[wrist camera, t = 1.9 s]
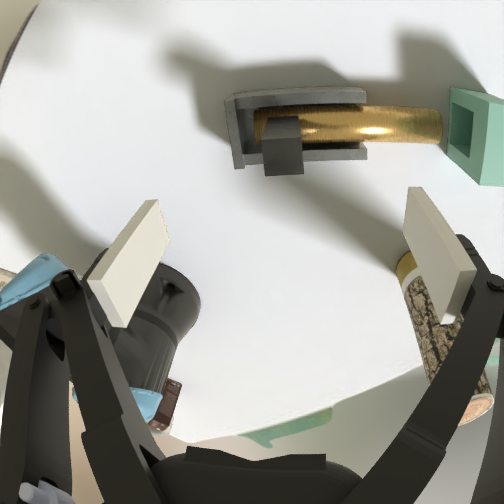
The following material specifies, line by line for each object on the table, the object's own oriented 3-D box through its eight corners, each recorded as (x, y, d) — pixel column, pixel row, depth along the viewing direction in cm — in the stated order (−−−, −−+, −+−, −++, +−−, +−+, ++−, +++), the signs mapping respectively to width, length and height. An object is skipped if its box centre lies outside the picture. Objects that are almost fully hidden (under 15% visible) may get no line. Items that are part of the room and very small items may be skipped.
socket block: (446, 155, 33) (479, 185, 26) (450, 87, 28) (489, 102, 21) (482, 158, 33) (517, 187, 25) (488, 93, 27) (529, 111, 20)
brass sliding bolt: (260, 140, 35) (247, 183, 25) (255, 106, 32) (239, 135, 23) (427, 138, 32) (477, 180, 22) (429, 106, 29) (483, 136, 19)
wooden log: (399, 246, 42) (452, 404, 22) (439, 246, 41) (504, 392, 21) (391, 282, 46) (427, 432, 26) (429, 281, 45) (476, 421, 25)
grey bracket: (241, 152, 37) (234, 169, 33) (233, 93, 33) (223, 101, 28) (358, 146, 35) (369, 163, 30) (357, 86, 31) (368, 93, 26)
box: (165, 377, 71) (152, 419, 61) (182, 384, 72) (171, 427, 62) (159, 385, 74) (146, 425, 64) (175, 392, 75) (164, 432, 65)
